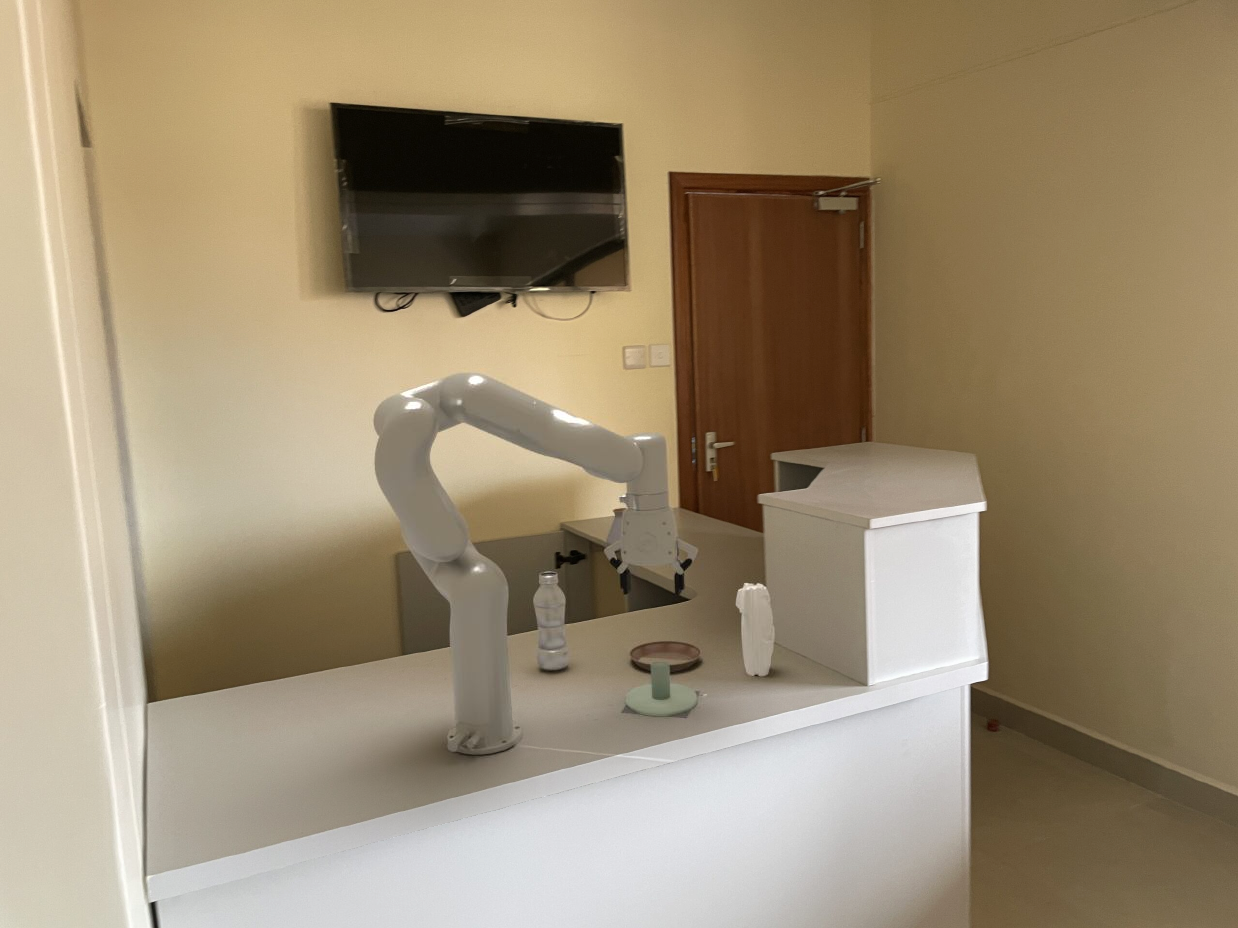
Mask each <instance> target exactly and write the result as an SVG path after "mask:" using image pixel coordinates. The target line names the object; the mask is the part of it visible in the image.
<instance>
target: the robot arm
mask: <svg viewBox="0 0 1238 928" xmlns="http://www.w3.org/2000/svg"><path fill="white" fill-rule="evenodd" d="M372 420H373V427H374V430H375V433H376V435H377V436H378V439H377V441H376V446H375V452H374V465H373V466H374V473H375V477H376V480H377V484H378V486H379V488H380V490H381V492H382V493H383V495H384V497H385V498H386V501H387V502H388V503H389V505H390V507H391V508H392V510H393V512H394V514H395V515H396V516H397V519H398V520H399V530H400V535H401V538H402V539H403V542H404V544H405V545H406V547H407V548H408V549H409V551H410V552H411V554H412V556H413V557H414V558H415V560H416V562H417V563H418V565H419V566H420V567H421V569H422V570H423V572H424V573H425V575H426V576H427V577H428V579H429V580H430V582H431V584H433V586H434V587H435V589H436V590H437V592H438V593H440V595H441V596H442V597H443V598H445V599H446V601H448V603H449V606H450V618H449V619H450V621H449V648H450V660H451V661H450V662H451V663H450V664H451V677H452V687H453V688H452V690H453V704H454V719H455V721H454V722H455V726H454V727H453V728H452V729H450V730H449V732H448V734H447V736H446V738H447V744H446V747H447V749H448V751H450V752H452V753H455V752H457V753H460V754H464V755H471V756H472V755H473V756H474V755H475V756H476V755H477V756H480V755H482V756H483V755H489V754H494V753H500V752H502V751H505V750H507V749H510V748H512V747H513V746H514V745H516V744H517V743H518V742H520V740H521V739H522V737H523V728H522V725H521V724H520V723H519V722H518V721H516V720H514V719H513V709H512V707H513V705H512V693H511V677H510V674H511V673H510V657H509V656H510V655H509V645H508V644H509V643H508V626H507V625H508V607H509V584H508V582H507V578H506V576H505V574H504V572H503V571H502V569H501V568H500V567H499V565H498V564H496V563H495V562H494V561H492V560H491V559H489V558H488V557H486V556H484V555H483V554H481V553H480V552H479V551H478V550H477V549H476V547H475V546H474V544H473V543H472V541H471V540H470V536H471V534H470V530H469V525H468V522H467V520H466V519H465V517H464V516H463V514H462V513H461V512H460V511H459V508H457V506H456V505H455V503H454V502H453V500H452V499H451V498H450V496H449V494H448V493H447V491H446V489H444V487H443V486H442V483H441V482H440V480H439V477H437V474H436V473H435V471H434V469H433V466H432V463H431V452H432V451H431V450H432V447H433V444H434V443H435V439H436V438H437V436H438V433H440V432H443V431H445V430H449V429H450V428H453V427H456V426H458V425H461V424H465V425H468V426H471V427H472V428H476V429H478V430H481V431H482V432H485V433H488V434H490V435H492V436H494V437H497V438H499V439H501V440H504V441H507V442H509V443H511V444H513V445H516V446H518V447H520V448H522V449H525V450H526V451H530V452H533V453H536V454H538V455H541V456H544V457H548V458H549V457H550V458H553V459H558V460H560V461H564V462H567V463H570V464H572V465H575V466H578V467H581V468H582V469H583V470H584V472H586V473H587V474H589V475H590V476H593V477H595V478H599V479H602V480H607V481H609V482H613V483H617V484H626V485H625V486H626V493H625V494H623V495H621V494H620V495H619V503H622V504H625V505H626V507H625V508H626V509H625V510H623V516H622V527H621V540H619V541H618V542H616V543H614V544H612V545H610V546H608V545H607V547H605V548H604V550H603V553H604V554H605V556H606V558H607V559H608V561H609V563H610V565H612V566H613V568H615V570H616V571H617V572H618V574H619V583H620V585H619V587H620V589H622V590H623V591H622V593H623V595H626V596H627V595H628V594H629V593H630V592H631V591H632V584H631V583H632V582H631V570H630V569H629V566H670V567H671V568H672V569H673V570H674V571H675V573H674V575H673V577H674V578H673V579H674V595H675V596H677V597H678V596H679V597H680V595H681V594H682V592H683V591H685V587H686V584H685V572H686V571H687V569H688V568H689V567H690V566H691V565H692V563H693V562H694V561H695V558H696V556H697V554H698V552H699V549H698V547H696V546H694V545H692V544H690V543H688V542H686V541H684V540H682V539H681V538H679V535H678V527H677V521H676V516H675V512H674V508H673V507H672V506H670V499H669V497H670V496H669V477H668V475H669V473H668V457H667V454H668V453H667V450H668V449H667V440H666V438H665V436H664V435H663V434H662V433H658V432H638V433H632V434H629V435H621V434H617V433H616V432H613V431H611V430H610V429H607V428H605V427H602V426H600V425H599V424H596V423H594V422H591V421H588V420H585V419H583V418H580V417H578V416H576V415H574V414H572V413H570V412H568V411H565V410H564V409H561V408H559V407H557V406H554V405H552V404H550V403H548V402H545V401H542V400H540V399H538V398H537V397H534V396H531V395H529V394H527V393H525V392H522V391H520V390H519V389H516V388H515V387H512V386H510V385H507V384H506V383H504V382H501V381H499V380H497V379H495V378H493V377H492V376H491V377H490V376H488V375H485V374H482V373H478V372H459V373H458V372H457V373H455V374H451V375H449V376H446V377H442V378H439V379H437V380H434V381H432V382H430V383H429V382H428V383H426V384H422V385H420V386H417V387H414V388H412V389H408V390H406V391H402V392H400V393H399V392H398V393H396V394H394V395H391V396H389V397H387V398H386V399H384V400H382V402H381V403H380V404H379V405H378V406H377V407H376V409H375V411H374V414H373V419H372ZM620 548H621V552H620V557H621V559H619V557H618V556H616V553H615V552H617V551H616V550H618V549H620ZM680 550H682V551H684V552H685V553H687V556H686V559H684V561H682V559H680V558H679V556H680Z"/></svg>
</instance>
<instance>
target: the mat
mask: <svg viewBox="0 0 1238 928" xmlns="http://www.w3.org/2000/svg"><path fill="white" fill-rule="evenodd" d="M694 691H695V692H696V695H697V697H698V696H699V694H700V693H701V691H700V690H694ZM690 712H691V710H689V711H687V712H684V713H681V714H677V715H672V716H667V718H669V717H670V718H681V719H687V718H688V716H689V714H690ZM620 713H622V714H630V715H631V714H634V715H640V714H639V713H636V712H634V711H632V710H630V709H629V708H628V707H627V705H626V704H625V705H624V707H623V708H622V710H621V711H620Z"/></svg>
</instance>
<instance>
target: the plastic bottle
mask: <svg viewBox="0 0 1238 928" xmlns="http://www.w3.org/2000/svg"><path fill="white" fill-rule="evenodd" d="M538 575H539V576H538V579H539V580H538V584H539V587H538V589H537V590H536V591H535V594H534V595H533V608H534V611H535V615H536V616H535V617H536V622H537V623H536V624H537V625H536V626H537V630H538V631H537V632H538V634H537V635H538V636H537V649H536V660H537V665H538V666H539V667H540V668H541V670H545V671H559V670H562V669H565V668H567V666H568V664H569V660H570V651H569V648H568V645H567V639H566V632H565V631H566V630H565V613H566V612H565V611H566V596H565V594H564V592H563V590H562V588H561V587H560V586H558V583H559V579H558V572H556V571H545V572H540V573H539V574H538Z"/></svg>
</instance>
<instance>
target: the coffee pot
mask: <svg viewBox="0 0 1238 928" xmlns="http://www.w3.org/2000/svg"><path fill="white" fill-rule="evenodd" d="M626 508H627V507H619V508H615V509H613V510H612V512H613V513H614V519H613V521H612V524H611V527H610V530H609V532H608V535H607V536H606V544H607V547H608V546H610V545H612V544H614V543H616V542H618V541H619V540H621V527H622V516H623V510H625V509H626ZM615 552H620V553H621V548H620V549H618V550H616V551H615Z"/></svg>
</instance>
